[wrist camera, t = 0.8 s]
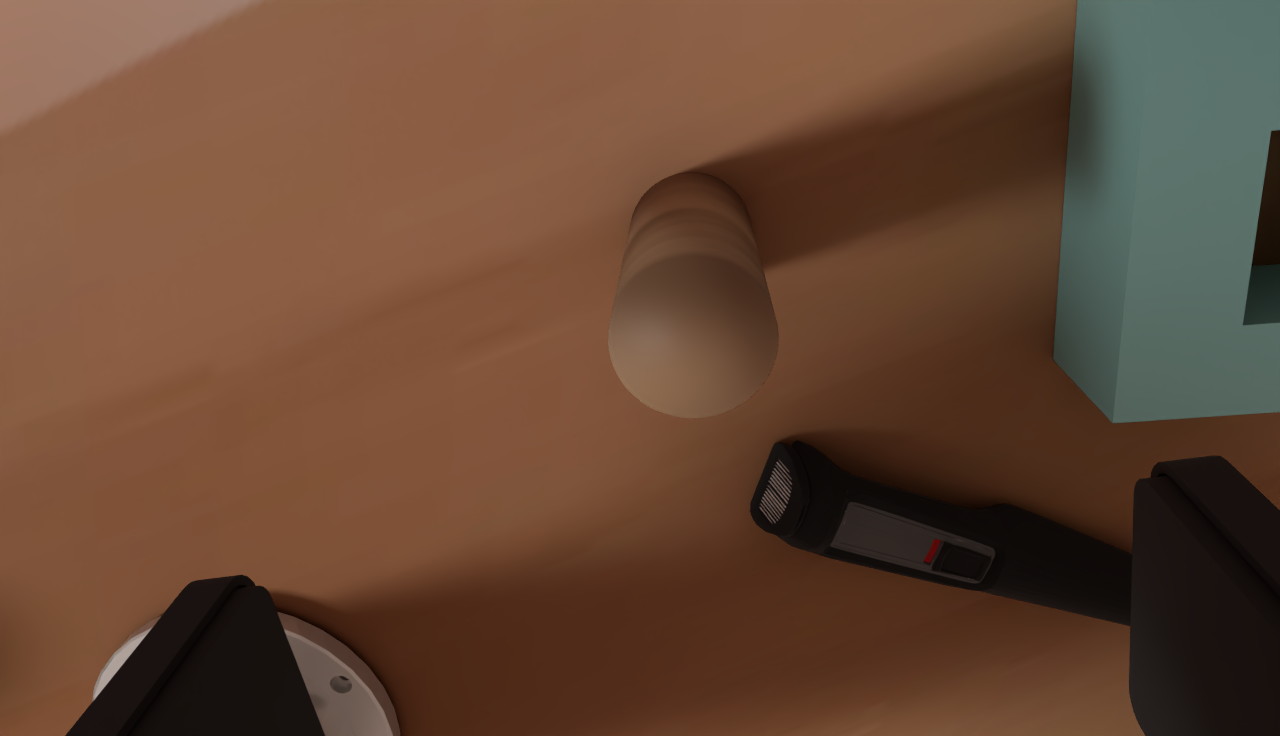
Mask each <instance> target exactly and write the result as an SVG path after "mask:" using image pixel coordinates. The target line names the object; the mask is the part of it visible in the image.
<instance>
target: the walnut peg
mask: <svg viewBox="0 0 1280 736" xmlns="http://www.w3.org/2000/svg"><path fill="white" fill-rule="evenodd" d="M778 336H779V334H778V326H777V321H776V317H775V314H774V310H773V306H772V302H771V298H770V294H769V291H768V287H767V283H766V279H765V275H764V271H763V268H762V264H761V260H760V256H759V252H758V248H757V245H756V241H755V237H754V233H753V229H752V225H751V222H750V218H749V214H748V211H747V209H746V206H745V204H744V203H743V201H742V199H741V198H740V197H739V195H738V194H737V193H736V192H735V191H734V190H733V189H732V188H731V187H730V186H729V185H727V184H726V183H724V182H723V181H721V180H719V179H717V178H715V177H712V176H710V175H706V174H701V173H682V174H676V175H673V176H670V177H667V178H665V179H663V180H661V181H660V182H658V183H656V184H655V185H654V186H652V187H651V188H650V189H649V190H648V191H647V192H646V193H645V194H644V195H643V196H642V198H641V199H640V201H639V202H638V204H637V206H636V208H635V210H634V213H633V216H632V220H631V224H630V229H629V234H628V239H627V244H626V248H625V253H624V258H623V263H622V267H621V272H620V277H619V282H618V286H617V291H616V296H615V301H614V305H613V310H612V315H611V320H610V324H609V332H608V348H609V353H610V358H611V361H612V364H613V367H614V369H615V371H616V373H617V375H618V377H619V379H620V380H621V382H622V383H623V385H624V386H625V387H626V388H627V389H628V390H629V392H630V393H631V394H632V395H633V396H635V397H636V398H637V399H638V400H639V401H641V402H642V403H644V404H645V405H647V406H648V407H650V408H652V409H654V410H656V411H659V412H661V413H664V414H667V415H671V416H676V417H682V418H704V417H711V416H715V415H718V414H722V413H724V412H727V411H730V410H732V409H734V408H735V407H737V406H739V405H741V404H742V403H744V402H745V401H746V400H748V399H749V398H750V397H751V396H752V395H754V394H755V393H756V392H757V391H758V389H759V388H760V387H761V386H762V385H763V384H764V382H765V380H766V379H767V377H768V376H769V374H770V372H771V370H772V368H773V365H774V362H775V359H776V356H777V350H778Z"/></svg>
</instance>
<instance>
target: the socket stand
mask: <svg viewBox="0 0 1280 736" xmlns="http://www.w3.org/2000/svg"><path fill="white" fill-rule="evenodd" d="M1274 130H1280V0H1078V1H1077V15H1076V30H1075V44H1074V59H1073V74H1072V88H1071V103H1070V117H1069V132H1068V147H1067V161H1066V176H1065V190H1064V205H1063V220H1062V234H1061V249H1060V263H1059V278H1058V293H1057V307H1056V322H1055V336H1054V351H1053V360H1054V361H1055V362H1056V363H1057V365H1058V366H1059V367H1060V368H1061V369H1062V370H1063V371H1064V372H1065V373H1066V374H1067V375H1068V376H1069V377H1070V378H1071V379H1072V380H1073V382H1074V383H1075V384H1076V385H1077V386H1078V387H1079V388H1080V389H1081V390H1082V391H1083V392H1084V393H1085V394H1086V395H1087V396H1088V398H1089V399H1090V400H1091V401H1092V402H1093V403H1094V404H1095V405H1096V406H1097V407H1098V408H1099V409H1100V410H1101V411H1102V412H1103V414H1104V415H1105V416H1106V417H1107V418H1108V419H1109V420H1110V421H1111V422H1112V423H1126V422H1140V421H1155V420H1170V419H1184V418H1199V417H1213V416H1228V415H1243V414H1257V413H1272V412H1280V264H1273V265H1260V266H1251V265H1252V259H1253V252H1254V245H1255V238H1256V231H1257V225H1258V218H1259V211H1260V204H1261V197H1262V191H1263V184H1264V177H1265V170H1266V163H1267V157H1268V150H1269V143H1270V136H1271V131H1274Z"/></svg>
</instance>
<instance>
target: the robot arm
mask: <svg viewBox="0 0 1280 736" xmlns="http://www.w3.org/2000/svg"><path fill="white" fill-rule="evenodd" d="M1129 692H1130V698H1131V703H1132V707H1133V711H1134V713H1135V716H1136V719H1137V721H1138V723H1139V725H1140V727H1141V729H1142V731H1143V732H1144V734H1145V736H1280V510H1279V509H1278V508H1277V507H1275V506H1274V505H1273V504H1272V503H1271V502H1270V501H1269V500H1268V499H1267V498H1266V497H1265V496H1264V495H1263V494H1262V493H1261V492H1260V491H1259V490H1258V489H1256V488H1255V487H1254V486H1253V485H1252V484H1251V483H1250V482H1249V481H1248V480H1247V479H1246V478H1245V477H1244V476H1243V475H1242V474H1241V473H1240V472H1239V471H1237V470H1236V469H1235V468H1234V467H1233V466H1232V465H1231V464H1230V463H1229V462H1228V461H1227V460H1225V459H1224V458H1222V457H1221V456H1206V457H1198V458H1190V459H1182V460H1174V461H1165V462H1158V463H1157V464H1156V465H1155V466H1154V467H1153V470H1152V472H1151V478H1145V479H1139V480H1138V481H1137V482H1136V485H1135V489H1134V508H1133V548H1132V588H1131V628H1130V668H1129ZM66 736H400V728H399V724H398V720H397V716H396V712H395V709H394V707H393V705H392V703H391V701H390V699H389V697H388V695H387V693H386V691H385V688H384V687H383V685H382V684H381V683H380V681H379V680H378V679H377V677H376V676H375V675H374V673H373V672H372V671H371V670H370V668H369V667H368V666H367V665H366V664H365V663H364V662H363V661H362V660H361V659H360V658H359V657H358V656H357V655H356V654H354V653H353V652H352V651H351V650H350V649H349V648H348V647H347V646H346V645H344V644H343V643H341V642H340V641H338V640H337V639H335V638H334V637H332V636H331V635H329V634H328V633H326V632H325V631H323V630H321V629H319V628H317V627H315V626H313V625H311V624H309V623H306V622H304V621H302V620H300V619H298V618H296V617H293V616H290V615H287V614H283V613H280V612H277V610H276V608H275V605H274V603H273V600H272V598H271V596H270V594H269V592H268V591H267V590H266V589H265V588H264V587H262V586H255V584H254V582H253V581H252V580H251V579H250V578H249V577H247V576H244V575H237V576H229V577H221V578H212V579H204V580H197V581H193V582H191V583H189V584H188V585H187V586H186V587H185V588H184V589H183V590H182V592H181V593H180V594H179V595H178V596H177V598H176V599H175V600H174V601H173V603H172V604H171V605H170V606H169V608H168V609H167V610H166V611H165V613H164V614H163V615H162V616H159V617H157V618H154V619H152V620H151V621H149V622H148V623H146V624H145V625H143V626H142V627H140V628H139V629H137V630H136V631H134V632H133V633H132V634H131V635H130V636H129V637H128V638H127V640H126V641H125V642H124V643H123V644H122V645H121V646H120V647H119V648H118V649H117V651H116V652H115V653H114V654H113V655H112V657H111V658H110V660H109V661H108V662H107V664H106V665H105V667H104V668H103V670H102V671H101V673H100V675H99V678H98V680H97V683H96V685H95V688H94V692H93V701H92V703H91V705H90V706H89V707H88V708H87V710H86V711H85V712H84V713H83V714H82V716H81V717H80V718H79V719H78V721H77V722H76V723H75V724H74V726H73V727H72V728H71V729H70V731H69V732H68V733H67V734H66Z"/></svg>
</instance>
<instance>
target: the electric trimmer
mask: <svg viewBox="0 0 1280 736" xmlns="http://www.w3.org/2000/svg"><path fill="white" fill-rule="evenodd" d="M750 512H751V515H752V518H753V520H754V521H755V523H756V524H757V525H758V526H759V527H760V528H762V529H763V530H764V531H766V532H768V533H772V534H775V535H777V536H778V537H779V538H781V539H782V540H783V541H785V542H786V543H788V544H789V545H791V546H793V547H796V548H799V549H802V550H806V551H809V552H812V553H815V554H819V555H822V556H825V557H828V558H831V559H836V560H840V561H844V562H848V563H853V564H857V565H861V566H866V567H870V568H874V569H878V570H883V571H887V572H891V573H895V574H900V575H904V576H908V577H913V578H917V579H921V580H925V581H930V582H934V583H938V584H942V585H947V586H953V587H958V588H963V589H968V590H975V591H982V592H985V593H990V594H994V595H998V596H1003V597H1007V598H1012V599H1016V600H1020V601H1025V602H1029V603H1034V604H1038V605H1042V606H1047V607H1051V608H1056V609H1060V610H1064V611H1068V612H1073V613H1077V614H1081V615H1085V616H1090V617H1094V618H1098V619H1102V620H1106V621H1111V622H1115V623H1119V624H1123V625H1128V626H1131V588H1132V554H1130V553H1128V552H1125V551H1123V550H1121V549H1118V548H1116V547H1114V546H1111V545H1109V544H1106V543H1104V542H1102V541H1099V540H1097V539H1094V538H1092V537H1090V536H1087V535H1085V534H1082V533H1080V532H1078V531H1075V530H1073V529H1070V528H1068V527H1066V526H1063V525H1061V524H1059V523H1056V522H1054V521H1051V520H1049V519H1047V518H1044V517H1042V516H1039V515H1036V514H1034V513H1031V512H1028V511H1026V510H1023V509H1020V508H1018V507H1015V506H1012V505H1008V504H1001V505H997V506H993V507H989V508H985V509H968V508H964V507H959V506H956V505H953V504H949V503H946V502H942V501H939V500H936V499H932V498H929V497H926V496H922V495H919V494H915V493H912V492H909V491H905V490H902V489H898V488H895V487H892V486H888V485H885V484H882V483H878V482H875V481H871V480H868V479H865V478H861V477H858V476H854V475H851V474H849V473H847V472H845V471H843V470H841V469H839V468H838V467H837V466H836V465H835V464H834V463H833V462H832V461H830V460H829V459H828V458H827V457H826V456H825V455H824V454H822V453H821V452H819V451H818V450H816V449H815V448H814V447H812V446H810V445H808V444H805V443H803V442H801V441H795V442H794V443H793V444H792V445H791V446H789V445H786V444H782V443H775V444H774V446H773V448H772V450H771V453H770V455H769V458H768V460H767V463H766V465H765V468H764V470H763V473H762V475H761V478H760V480H759V483H758V485H757V488H756V490H755V493H754V496H753V498H752V501H751V508H750ZM992 548H993V549H992Z"/></svg>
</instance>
